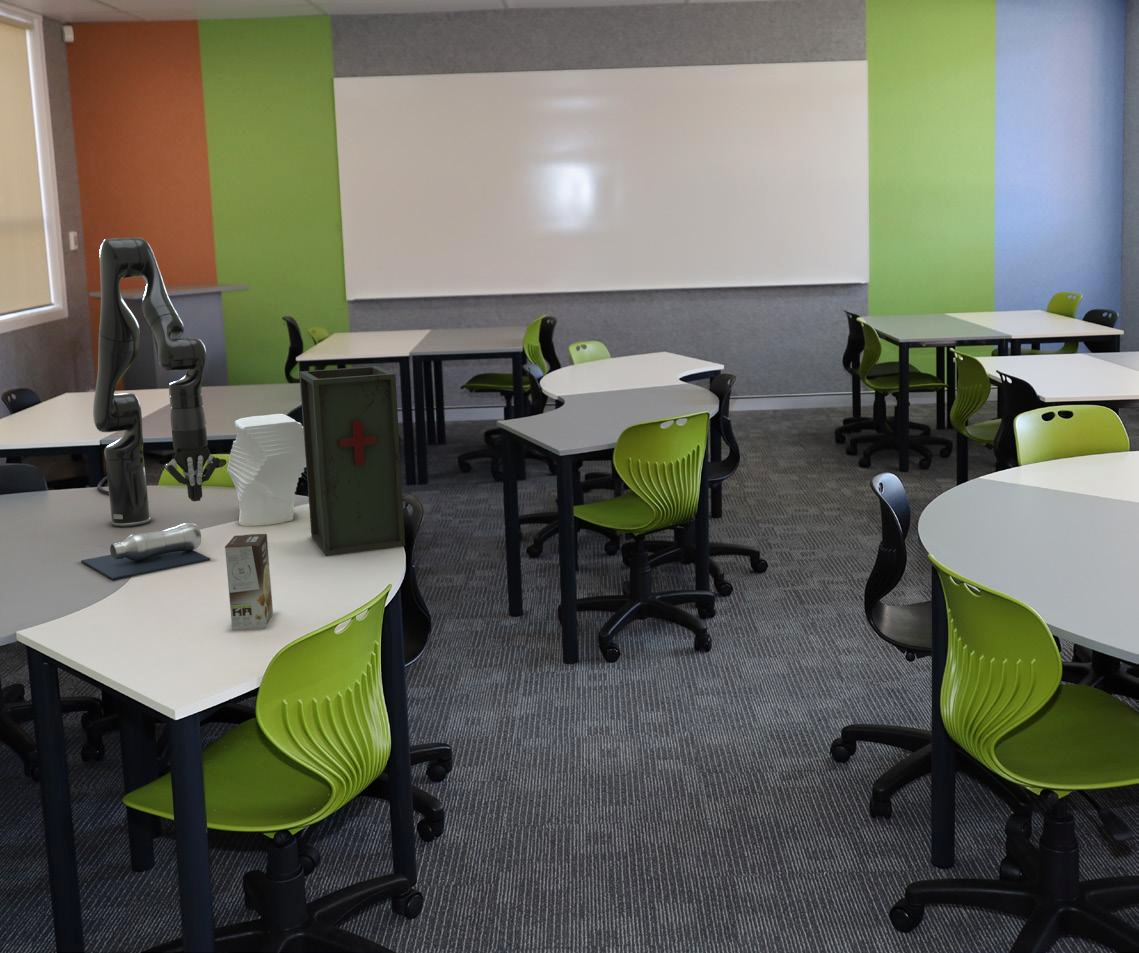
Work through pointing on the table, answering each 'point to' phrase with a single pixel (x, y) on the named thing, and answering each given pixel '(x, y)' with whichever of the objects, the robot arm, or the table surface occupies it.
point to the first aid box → (352, 459)
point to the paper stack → (267, 467)
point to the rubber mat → (142, 564)
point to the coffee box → (249, 581)
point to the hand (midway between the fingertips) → (195, 500)
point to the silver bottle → (157, 543)
